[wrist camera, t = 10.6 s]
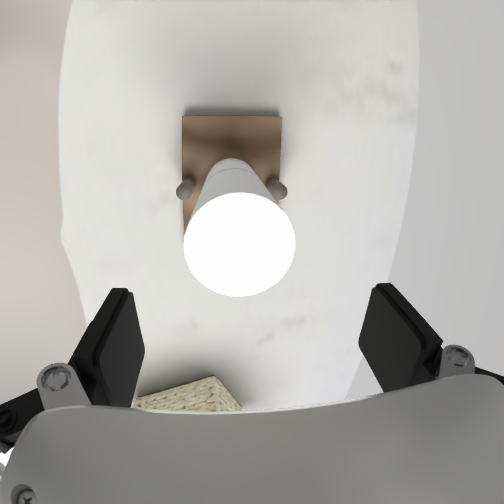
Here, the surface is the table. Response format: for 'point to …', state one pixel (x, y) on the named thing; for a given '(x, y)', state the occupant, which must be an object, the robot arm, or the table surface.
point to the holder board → (228, 152)
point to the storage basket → (191, 398)
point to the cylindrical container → (238, 233)
